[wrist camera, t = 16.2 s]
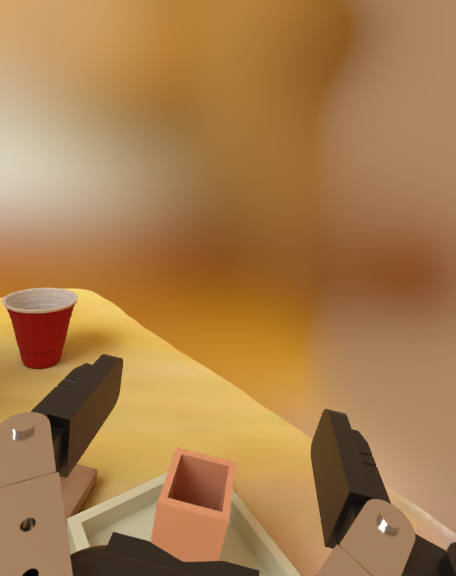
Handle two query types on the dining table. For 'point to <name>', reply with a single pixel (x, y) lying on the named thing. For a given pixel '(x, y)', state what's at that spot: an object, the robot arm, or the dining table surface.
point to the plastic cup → (40, 323)
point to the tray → (140, 518)
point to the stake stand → (77, 489)
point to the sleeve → (194, 507)
